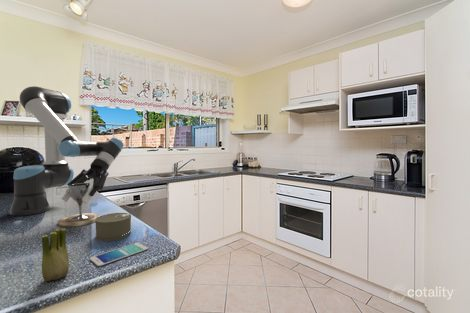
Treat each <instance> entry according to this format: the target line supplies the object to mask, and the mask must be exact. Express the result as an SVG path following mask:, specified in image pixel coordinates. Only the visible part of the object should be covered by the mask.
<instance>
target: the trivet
mask: <svg viewBox="0 0 470 313" xmlns="http://www.w3.org/2000/svg"><path fill="white" fill-rule="evenodd" d="M98 214H99V213H94V212H91V213H87V212H86V213H85V212H84V213H82V215H89V216H90V217H89V218H86V219H81V220H72V219H71V218H72V217H75V216H78V215H79V213H78V214H72V215H68V216H65V217H61V218H60V219H58V221H57V226H59V227H62V228H67V227H68V228H70V227H74V228H75V227H82V226H86V225H91V224H94V223H96V222H95V219H96V218H97V217H98V216H99V215H98Z"/></svg>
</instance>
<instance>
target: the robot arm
mask: <svg viewBox="0 0 470 313" xmlns="http://www.w3.org/2000/svg"><path fill="white" fill-rule="evenodd" d="M19 102H20V105H21V106H22V108H23V109H24V110H25V111H26V112H27V113H29V114H32V115H33V116H34V118H36V120H37V121H38V122H39V123H40V124H41V125H42V126H43V127H44V151H45V153H44V154H45V161H43V163H41V164H33V165H26V166H21V167H20V166H19V167H17V168H16V169H14V171H13V177H12V178H13V195H14V198H13V201H12V203H11V207H10V208H9V215H10V216H12V217H13V216H16V217H17V216H20V217H21V216H30V215H37V214H42V213H44V212H47V211H49V210H50V204H49V202H48V199H47V196H46V195H45V194H46V193H45V192H46V191H45V190H47V189H53V188H60V187H64V186H68V188H67V190H65V193H64V194H63V195H62V197H61V200H63V202H65V203H68V201H69V199H70V198H71V196H70V193H69V185H70V184H76V183H87V181H90V180H93V182H92V186H91V187H90V189H89V191H88V192H87V193H86V195H85V196H84V198H83V199H82V201H83V203H84V204H85V205H87V204H88V203H89V202H90V200H91V199H92V197H94V195H95V194H96V193H97V192H98V191H99V190H103V189H104V186H105V183H106V180H107V178H108V176H109V172H108V170H109V168H110V166H111V165H112V164H113V162H114V161H115V160H116V158H117V157H118V155H119V154H120V153H121V152H122V150H123V148H124V146H125V145H124V143H123V140H121V139H119V138H118V137H111V138H110V139H109V140H108V141H94V140H93V141H88V140H87V141H83V140H82V141H81V140H80V139H79V138H78V137H76V135H75V134H74V133H73V132H72V131H71V130H70V129H69V127H68V126H67V125H66V124H65V123H64V119H65V117H67V114H68V113H70V111H71V110H72V101H71V99H70V97H69V96H68V94H65V93H63V92H60V91H57V90H53V89H49V88H45V87H44V88H43V87H40V86H35V85H33V86H28V87H26V88H24V89H23V90H22V91H21V92H20V94H19ZM95 156H96V157H95ZM66 157H67V158H68V157H69V158H76V157H94V158H95V159H94V160H93V161H91V163H90V165H89V166H90V168H89V169H88V170H86V169H82V170H81V172H80V173H79V174H78V175H76V176H75V177H74V175H75V174H74V169H73V168H72V166H69V162H68V161H67V160H66V159H65V158H66Z"/></svg>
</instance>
